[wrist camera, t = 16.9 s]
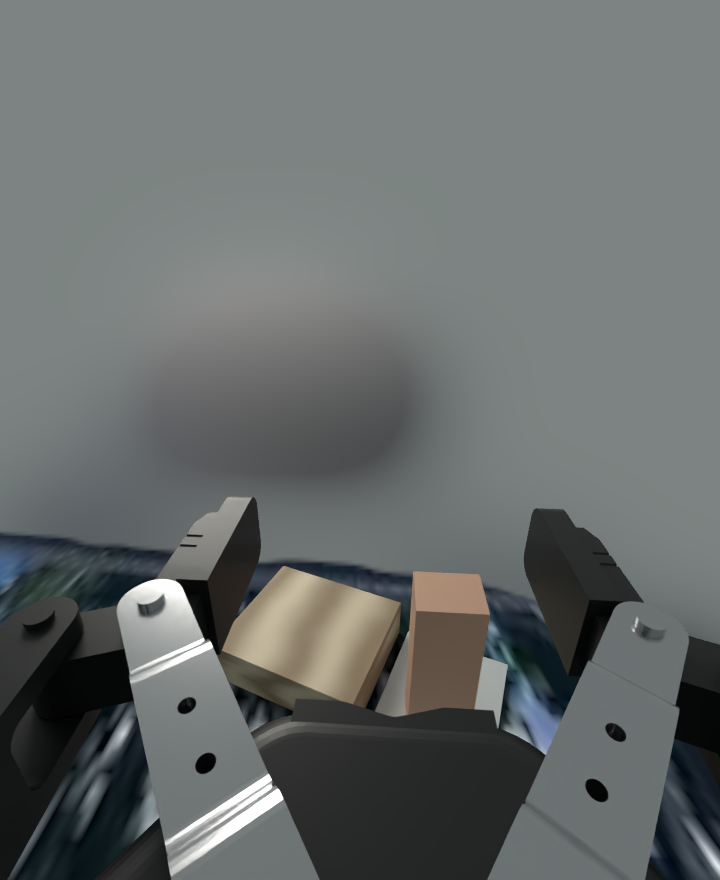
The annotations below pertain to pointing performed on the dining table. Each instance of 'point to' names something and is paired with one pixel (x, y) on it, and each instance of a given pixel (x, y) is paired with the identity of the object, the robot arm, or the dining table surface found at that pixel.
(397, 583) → the dining table surface
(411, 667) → the tall tan block
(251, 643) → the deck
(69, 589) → the dining table surface
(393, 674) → the mat
